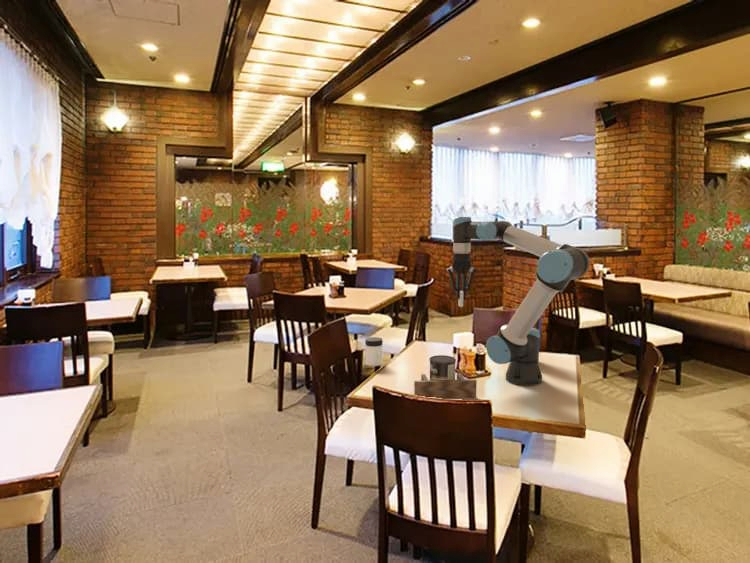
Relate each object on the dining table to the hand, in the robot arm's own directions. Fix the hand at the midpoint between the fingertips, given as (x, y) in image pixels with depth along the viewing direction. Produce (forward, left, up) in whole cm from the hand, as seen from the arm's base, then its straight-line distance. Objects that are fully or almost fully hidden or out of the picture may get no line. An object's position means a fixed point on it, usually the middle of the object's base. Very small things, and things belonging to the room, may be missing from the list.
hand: (460, 306), depth 232 cm
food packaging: (-35, -16, -31) cm, 49 cm away
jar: (+37, -18, -31) cm, 51 cm away
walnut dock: (+13, +27, -30) cm, 43 cm away
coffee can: (+13, +25, -31) cm, 42 cm away
